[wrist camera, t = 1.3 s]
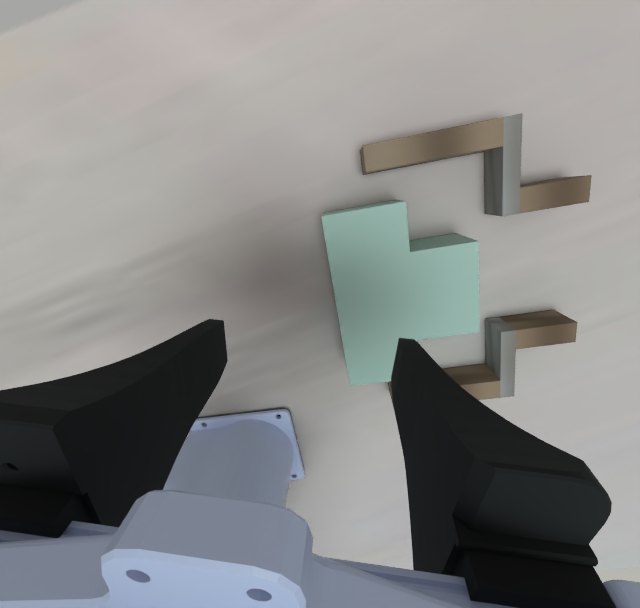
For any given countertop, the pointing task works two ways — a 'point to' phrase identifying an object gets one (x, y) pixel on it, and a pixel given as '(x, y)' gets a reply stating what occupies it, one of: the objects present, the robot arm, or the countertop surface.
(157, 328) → the countertop surface
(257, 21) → the countertop surface
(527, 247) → the countertop surface
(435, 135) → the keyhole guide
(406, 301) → the t slider
